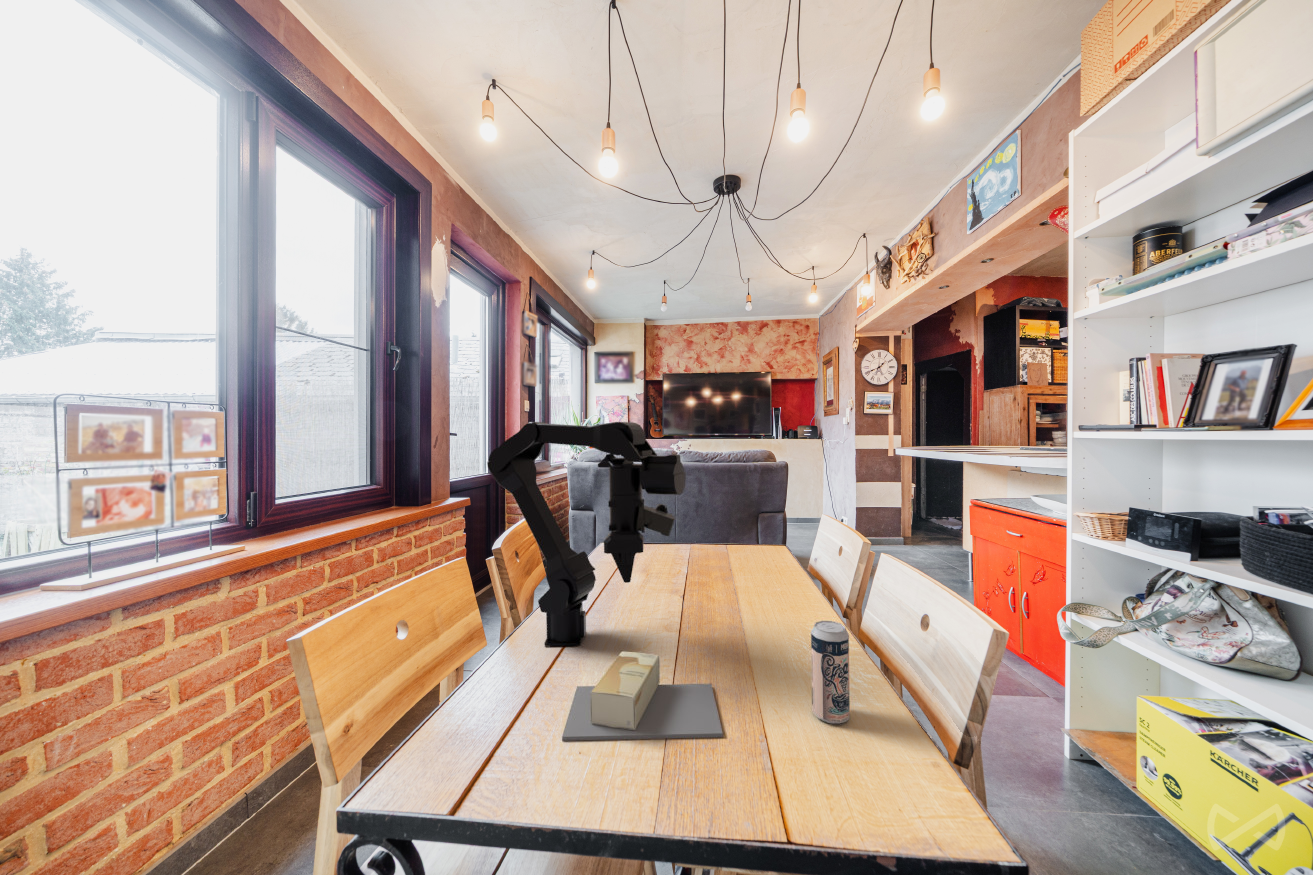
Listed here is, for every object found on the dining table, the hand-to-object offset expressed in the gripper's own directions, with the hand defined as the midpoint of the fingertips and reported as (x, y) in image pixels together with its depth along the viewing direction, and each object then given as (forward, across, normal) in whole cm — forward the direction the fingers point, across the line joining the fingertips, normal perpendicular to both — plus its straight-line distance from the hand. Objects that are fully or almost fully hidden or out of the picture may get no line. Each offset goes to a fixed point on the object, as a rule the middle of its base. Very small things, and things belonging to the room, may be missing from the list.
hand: (627, 581), depth 85 cm
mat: (+12, -19, -3) cm, 23 cm away
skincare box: (+9, -12, -2) cm, 15 cm away
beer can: (+12, -21, -28) cm, 37 cm away
